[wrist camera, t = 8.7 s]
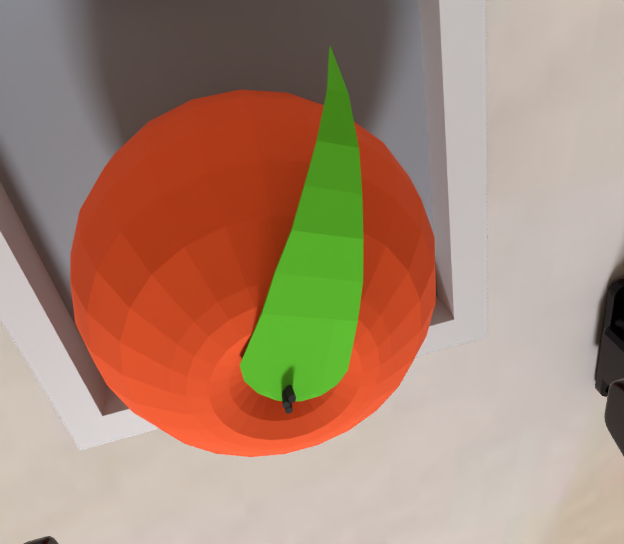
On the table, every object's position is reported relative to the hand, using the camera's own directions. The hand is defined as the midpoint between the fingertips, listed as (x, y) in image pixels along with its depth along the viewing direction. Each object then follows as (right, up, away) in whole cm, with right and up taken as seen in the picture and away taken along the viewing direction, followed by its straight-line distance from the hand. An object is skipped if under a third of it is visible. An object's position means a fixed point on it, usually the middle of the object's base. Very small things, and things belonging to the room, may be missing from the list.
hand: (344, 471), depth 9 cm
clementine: (-2, +5, +5) cm, 8 cm away
